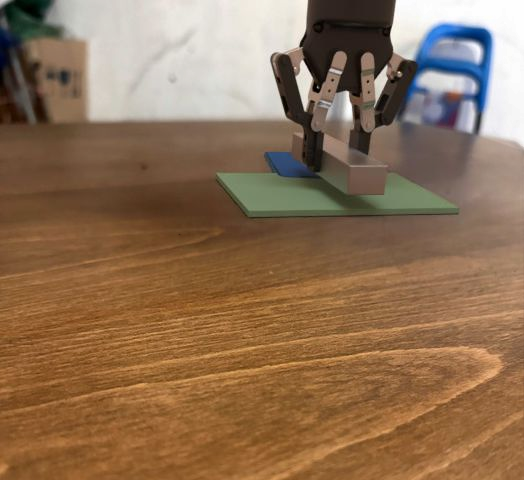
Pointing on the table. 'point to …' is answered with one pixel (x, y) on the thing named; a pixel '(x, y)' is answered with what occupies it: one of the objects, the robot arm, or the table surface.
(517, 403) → the table surface
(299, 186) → the mat
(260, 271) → the table surface
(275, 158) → the smartphone
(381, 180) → the strip
